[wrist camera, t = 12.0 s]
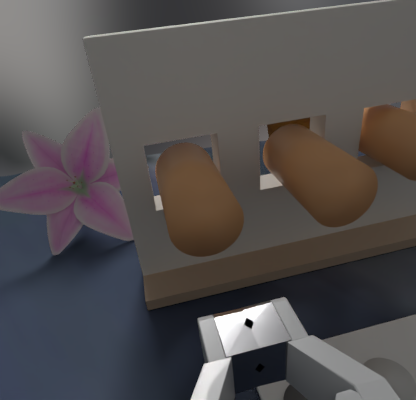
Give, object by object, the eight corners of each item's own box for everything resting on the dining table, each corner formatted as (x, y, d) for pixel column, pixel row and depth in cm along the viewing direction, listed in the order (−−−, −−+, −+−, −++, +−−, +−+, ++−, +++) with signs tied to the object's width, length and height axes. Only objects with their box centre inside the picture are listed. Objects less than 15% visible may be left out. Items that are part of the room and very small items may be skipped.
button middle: (308, 233, 17) (312, 169, 16) (263, 180, 23) (262, 129, 21) (372, 219, 18) (383, 156, 16) (312, 170, 24) (315, 119, 22)
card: (298, 503, 13) (298, 497, 13) (248, 364, 18) (247, 358, 18) (555, 414, 15) (561, 407, 15) (443, 311, 20) (446, 304, 20)
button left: (174, 263, 16) (161, 199, 15) (160, 200, 22) (150, 148, 20) (245, 247, 17) (242, 183, 15) (214, 189, 22) (209, 138, 21)
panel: (147, 310, 22) (76, 42, 14) (142, 247, 28) (89, 33, 20) (442, 239, 25) (518, -13, 17) (380, 196, 31) (416, -6, 23)
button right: (395, 185, 21) (406, 128, 19) (337, 149, 26) (341, 102, 24) (446, 174, 21) (462, 118, 19) (379, 141, 27) (386, 94, 25)
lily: (-2, 256, 31) (-51, 197, 23) (54, 161, 38) (31, 90, 30) (127, 285, 31) (122, 238, 23) (160, 186, 38) (164, 123, 30)
